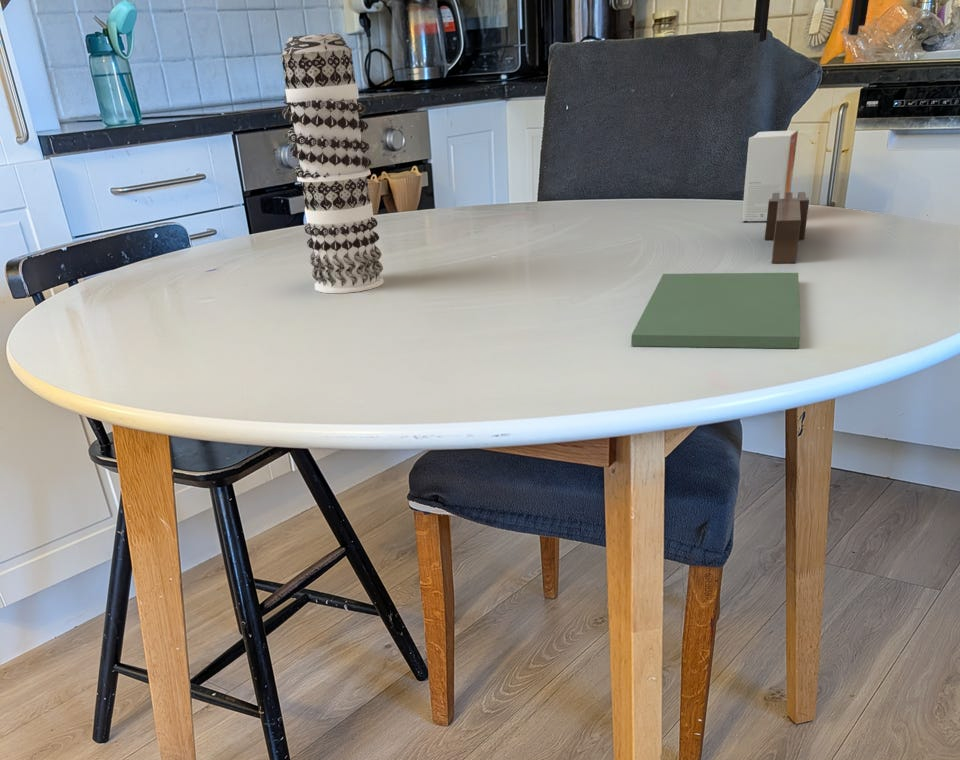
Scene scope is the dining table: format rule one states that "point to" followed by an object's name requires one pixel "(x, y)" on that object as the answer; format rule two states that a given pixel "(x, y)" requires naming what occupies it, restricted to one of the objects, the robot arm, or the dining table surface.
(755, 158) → the small box
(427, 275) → the dining table surface
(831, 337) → the dining table surface
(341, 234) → the decorative candle
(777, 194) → the fork
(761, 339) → the mat
